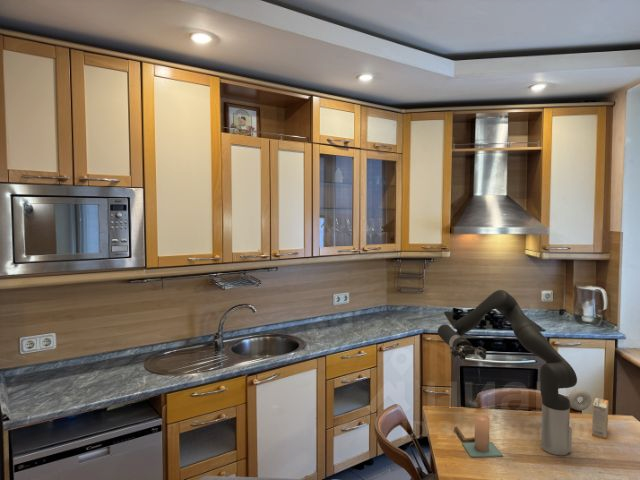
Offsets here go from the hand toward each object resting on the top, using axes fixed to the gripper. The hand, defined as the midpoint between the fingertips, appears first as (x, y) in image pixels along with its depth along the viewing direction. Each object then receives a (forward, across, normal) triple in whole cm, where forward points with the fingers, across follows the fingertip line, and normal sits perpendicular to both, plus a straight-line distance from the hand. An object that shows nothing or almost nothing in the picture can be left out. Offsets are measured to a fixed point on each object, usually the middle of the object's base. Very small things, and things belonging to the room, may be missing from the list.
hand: (474, 357), depth 175 cm
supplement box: (+8, +49, +30) cm, 58 cm away
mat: (+18, -4, +30) cm, 35 cm away
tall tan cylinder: (+18, -4, +29) cm, 34 cm away
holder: (+7, -4, +30) cm, 31 cm away
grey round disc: (-12, +54, +30) cm, 63 cm away
